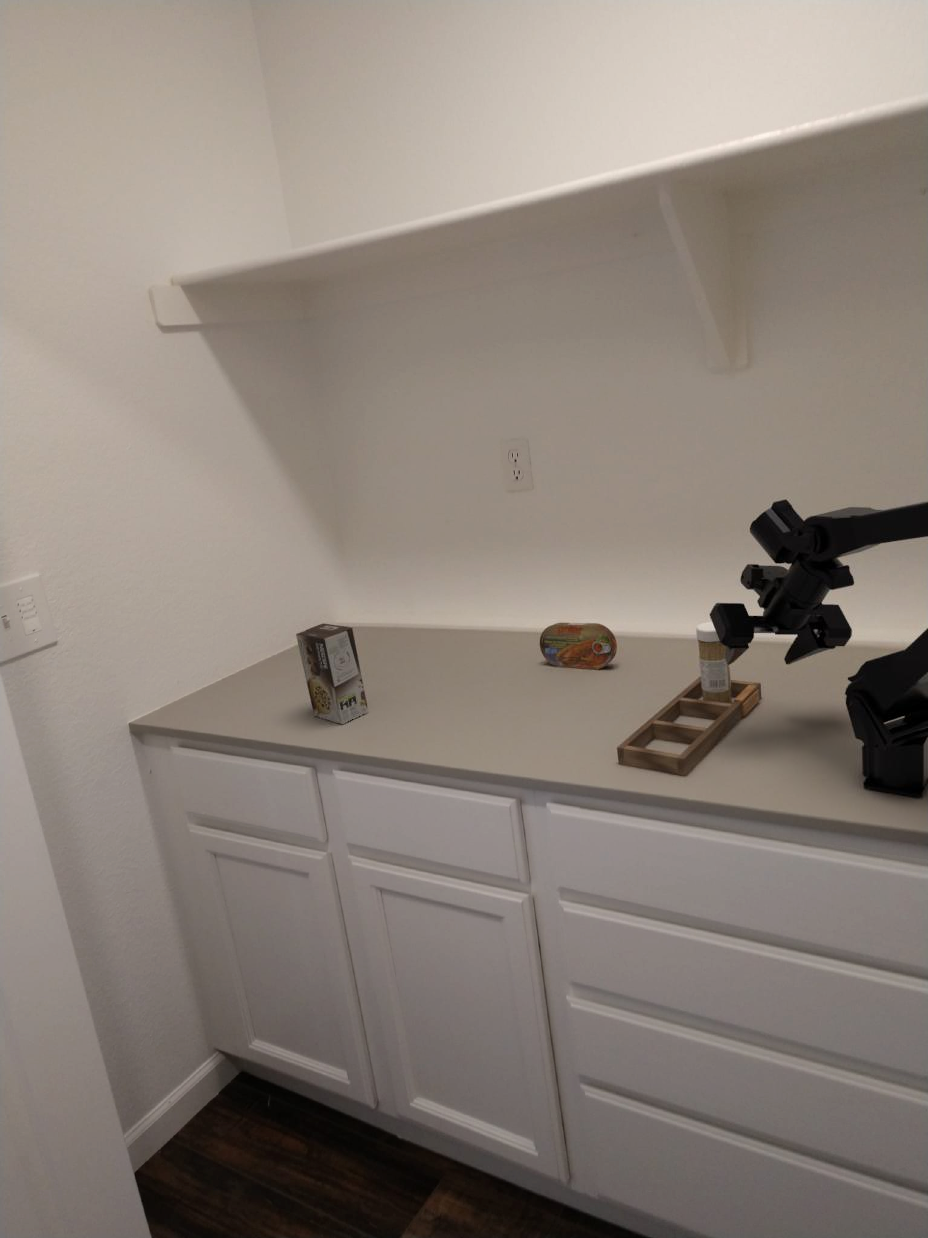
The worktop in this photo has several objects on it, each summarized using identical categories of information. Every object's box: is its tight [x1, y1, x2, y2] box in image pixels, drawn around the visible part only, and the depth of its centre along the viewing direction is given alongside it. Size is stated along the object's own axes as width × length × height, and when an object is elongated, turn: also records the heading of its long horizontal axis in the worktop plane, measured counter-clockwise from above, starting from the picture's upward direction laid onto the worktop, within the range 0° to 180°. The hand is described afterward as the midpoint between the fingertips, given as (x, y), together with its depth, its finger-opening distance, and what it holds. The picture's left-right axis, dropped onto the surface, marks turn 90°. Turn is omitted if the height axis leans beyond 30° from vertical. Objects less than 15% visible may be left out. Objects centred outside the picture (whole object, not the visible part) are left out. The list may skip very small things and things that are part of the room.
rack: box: [616, 676, 762, 777], centre depth 126 cm, size 10×28×3 cm, turn 141°
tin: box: [539, 622, 618, 670], centre depth 158 cm, size 15×3×8 cm, turn 56°
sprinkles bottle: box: [695, 621, 734, 704], centre depth 131 cm, size 5×5×13 cm
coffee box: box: [295, 623, 369, 725], centre depth 152 cm, size 9×6×16 cm
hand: (757, 662), depth 123 cm, fingers open, 9 cm apart
